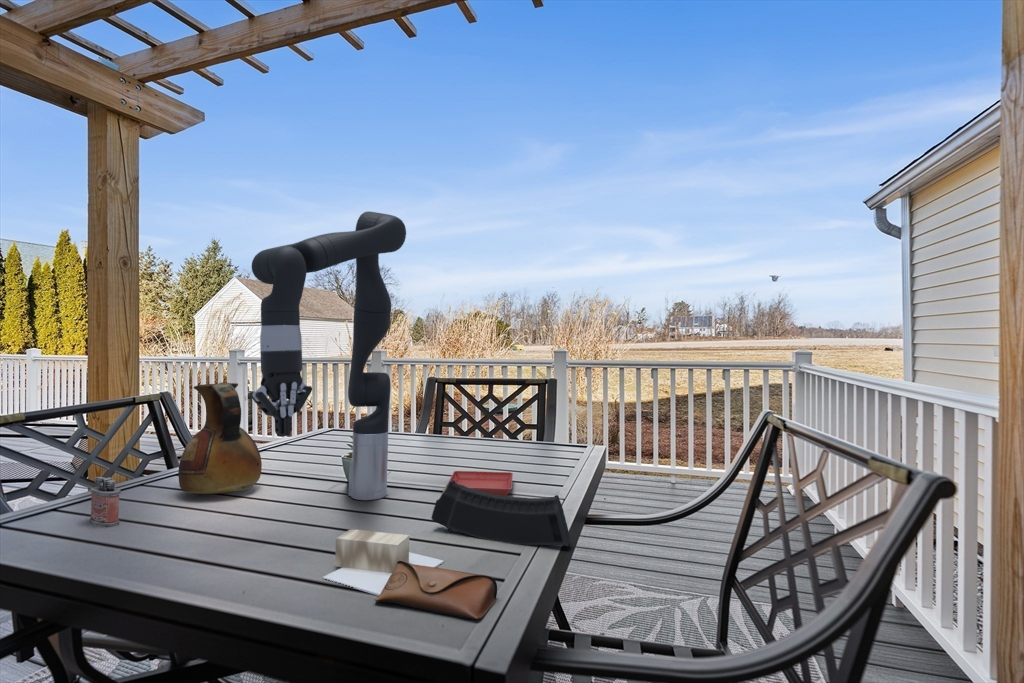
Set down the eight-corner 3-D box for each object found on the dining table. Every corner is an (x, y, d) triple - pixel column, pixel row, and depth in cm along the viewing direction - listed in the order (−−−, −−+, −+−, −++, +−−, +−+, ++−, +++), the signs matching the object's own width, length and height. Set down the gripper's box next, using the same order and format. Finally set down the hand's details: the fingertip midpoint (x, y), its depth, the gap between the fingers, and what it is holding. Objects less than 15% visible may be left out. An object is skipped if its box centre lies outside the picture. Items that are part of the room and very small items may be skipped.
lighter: (123, 524, 113) (125, 478, 113) (106, 528, 110) (107, 481, 110) (102, 518, 116) (104, 474, 117) (85, 522, 113) (86, 477, 113)
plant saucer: (511, 500, 139) (512, 487, 139) (445, 498, 139) (445, 486, 139) (512, 483, 157) (512, 472, 157) (453, 481, 157) (454, 470, 157)
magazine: (583, 504, 104) (456, 449, 114) (580, 508, 101) (450, 452, 111) (558, 581, 106) (434, 520, 115) (554, 587, 103) (427, 525, 112)
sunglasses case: (370, 600, 79) (383, 554, 82) (388, 605, 85) (399, 562, 88) (481, 620, 74) (490, 571, 78) (492, 624, 80) (500, 578, 83)
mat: (322, 578, 88) (322, 577, 88) (385, 548, 102) (385, 546, 102) (386, 598, 82) (386, 596, 82) (444, 562, 96) (444, 560, 96)
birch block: (335, 538, 93) (397, 545, 90) (350, 529, 97) (409, 535, 95) (335, 566, 92) (396, 573, 90) (349, 555, 97) (408, 562, 95)
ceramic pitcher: (239, 479, 153) (242, 379, 153) (275, 491, 141) (278, 382, 142) (164, 493, 137) (168, 381, 137) (198, 508, 125) (202, 385, 126)
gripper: (263, 349, 94) (265, 443, 94) (321, 347, 106) (323, 431, 106) (238, 350, 98) (240, 440, 98) (297, 347, 109) (299, 428, 110)
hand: (283, 435), depth 102 cm, fingers closed
